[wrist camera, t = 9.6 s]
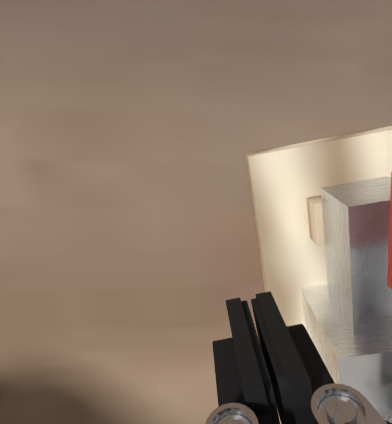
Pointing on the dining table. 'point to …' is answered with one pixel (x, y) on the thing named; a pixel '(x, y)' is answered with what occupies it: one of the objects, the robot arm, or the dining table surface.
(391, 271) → the lever
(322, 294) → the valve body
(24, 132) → the dining table surface
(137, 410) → the dining table surface
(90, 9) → the dining table surface
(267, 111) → the dining table surface
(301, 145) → the valve board
